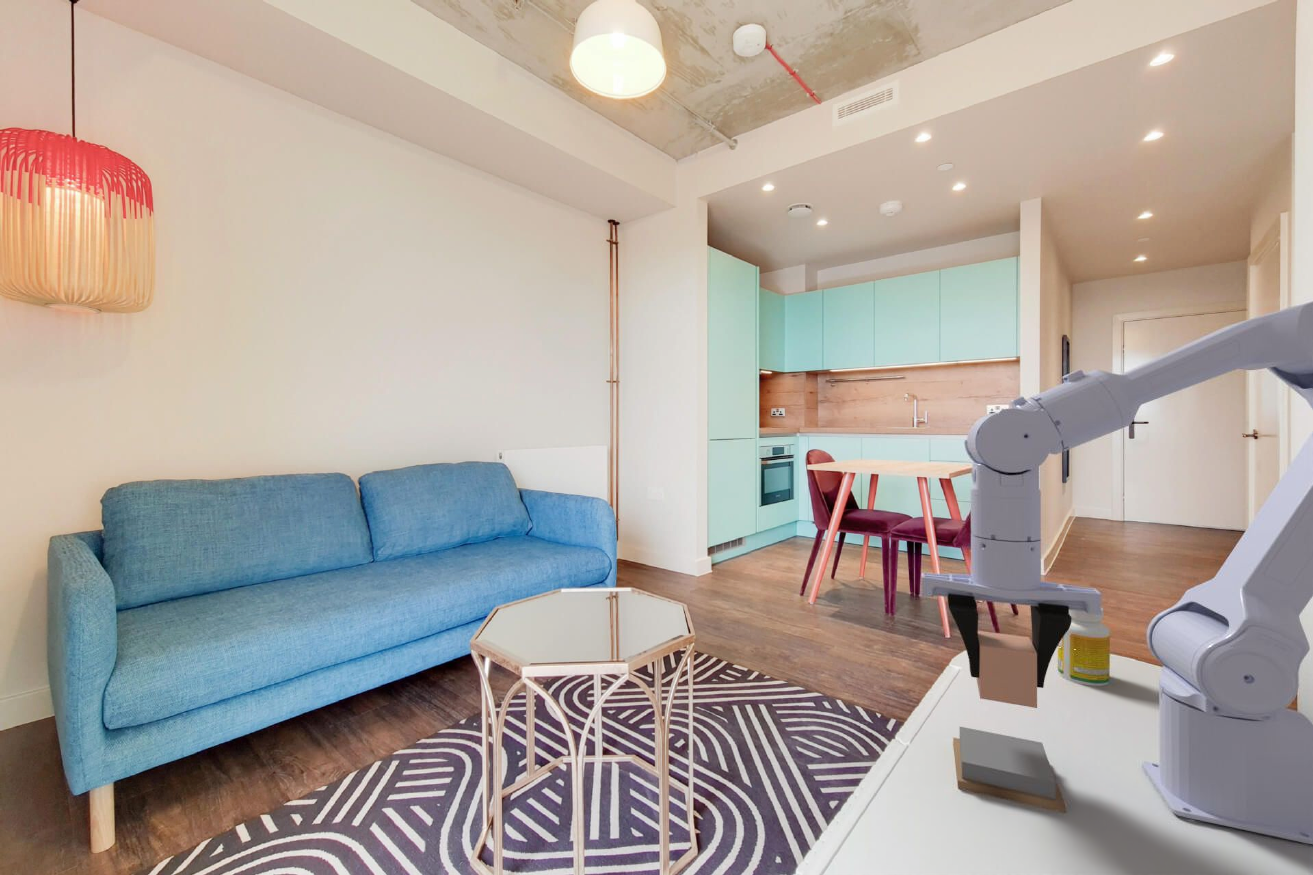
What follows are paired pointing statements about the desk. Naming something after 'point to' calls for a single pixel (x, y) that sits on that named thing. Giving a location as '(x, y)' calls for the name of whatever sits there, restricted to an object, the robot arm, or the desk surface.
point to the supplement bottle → (1085, 650)
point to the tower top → (1006, 762)
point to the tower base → (1004, 792)
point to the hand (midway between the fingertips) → (1005, 678)
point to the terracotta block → (1007, 669)
